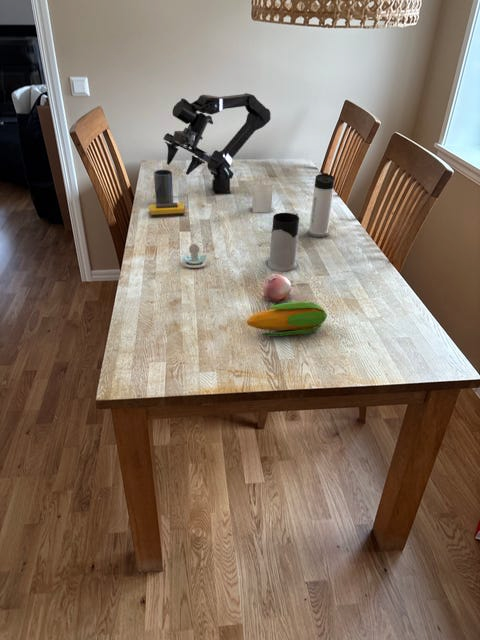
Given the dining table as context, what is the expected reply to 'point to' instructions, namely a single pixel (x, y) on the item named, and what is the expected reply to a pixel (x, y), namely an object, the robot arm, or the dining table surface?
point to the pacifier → (194, 257)
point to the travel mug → (321, 205)
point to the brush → (167, 210)
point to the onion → (276, 288)
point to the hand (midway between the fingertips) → (177, 169)
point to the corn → (289, 318)
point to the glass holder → (284, 241)
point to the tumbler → (163, 186)
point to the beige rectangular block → (262, 198)
